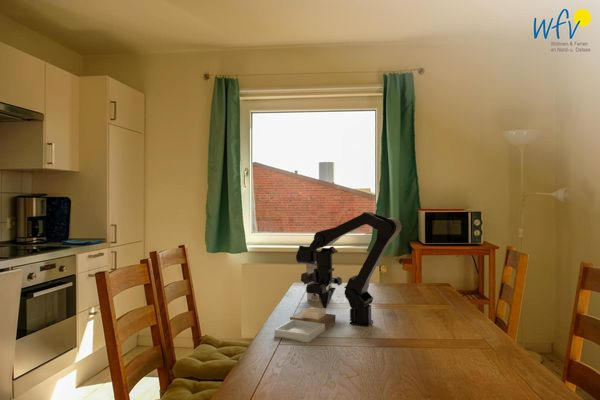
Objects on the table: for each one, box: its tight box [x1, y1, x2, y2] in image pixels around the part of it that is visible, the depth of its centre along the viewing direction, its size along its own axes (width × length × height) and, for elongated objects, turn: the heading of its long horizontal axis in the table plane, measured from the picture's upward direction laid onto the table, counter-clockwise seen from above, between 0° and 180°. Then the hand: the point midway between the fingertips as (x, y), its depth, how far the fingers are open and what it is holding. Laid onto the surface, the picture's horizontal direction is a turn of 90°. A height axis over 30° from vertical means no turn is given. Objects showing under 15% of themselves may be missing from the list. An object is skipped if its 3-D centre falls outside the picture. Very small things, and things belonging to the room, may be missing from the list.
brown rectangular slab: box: [289, 310, 336, 332], centre depth 145 cm, size 13×9×3 cm
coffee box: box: [305, 262, 321, 303], centre depth 180 cm, size 9×6×16 cm
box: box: [274, 319, 326, 343], centre depth 135 cm, size 12×12×2 cm
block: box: [301, 306, 327, 320], centre depth 144 cm, size 6×6×2 cm
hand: (324, 308), depth 152 cm, fingers closed
